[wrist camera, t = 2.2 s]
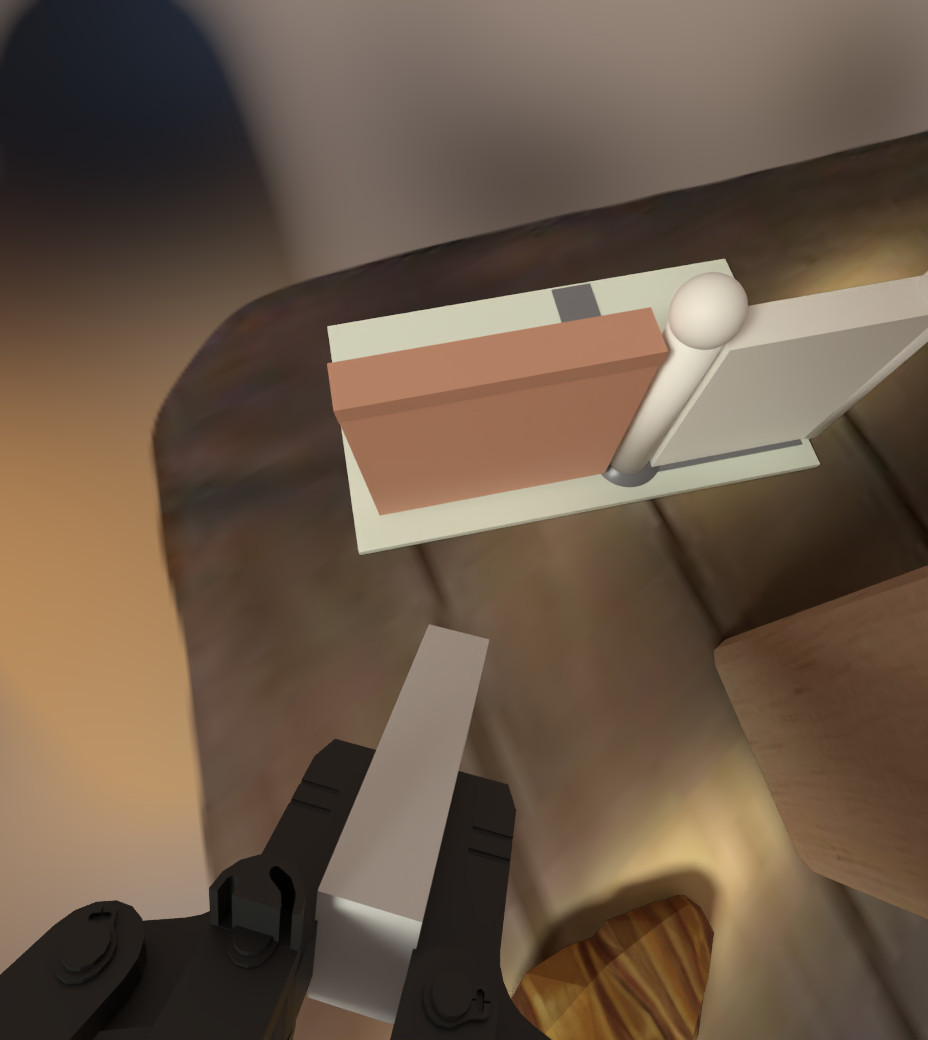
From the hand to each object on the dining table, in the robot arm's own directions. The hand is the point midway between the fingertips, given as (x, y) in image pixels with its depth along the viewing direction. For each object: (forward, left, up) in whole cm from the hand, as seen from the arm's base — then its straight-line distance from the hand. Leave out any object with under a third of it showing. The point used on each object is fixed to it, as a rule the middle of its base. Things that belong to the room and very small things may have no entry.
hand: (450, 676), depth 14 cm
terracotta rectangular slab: (-4, -11, -13) cm, 17 cm away
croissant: (-2, +13, -14) cm, 20 cm away
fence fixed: (-16, -11, -13) cm, 23 cm away
